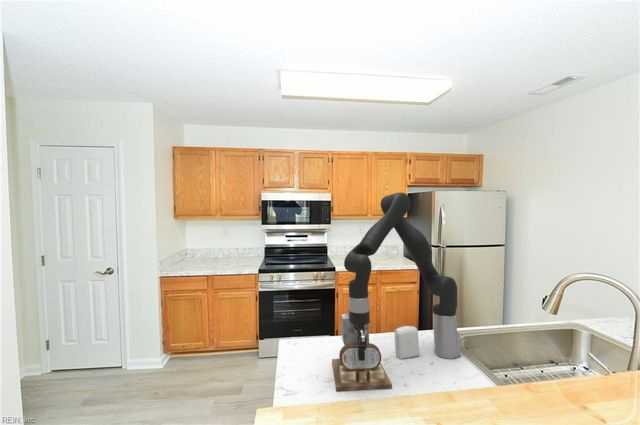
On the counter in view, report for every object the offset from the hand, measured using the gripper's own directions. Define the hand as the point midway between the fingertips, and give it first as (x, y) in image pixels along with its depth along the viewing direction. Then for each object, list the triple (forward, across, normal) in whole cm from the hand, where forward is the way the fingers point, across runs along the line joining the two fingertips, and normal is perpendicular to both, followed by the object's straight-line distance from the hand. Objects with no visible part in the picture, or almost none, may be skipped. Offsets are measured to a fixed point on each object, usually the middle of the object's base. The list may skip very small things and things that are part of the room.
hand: (360, 357), depth 98 cm
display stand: (+8, +5, 0) cm, 10 cm away
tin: (+4, -1, 0) cm, 4 cm away
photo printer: (+9, +18, -23) cm, 30 cm away
